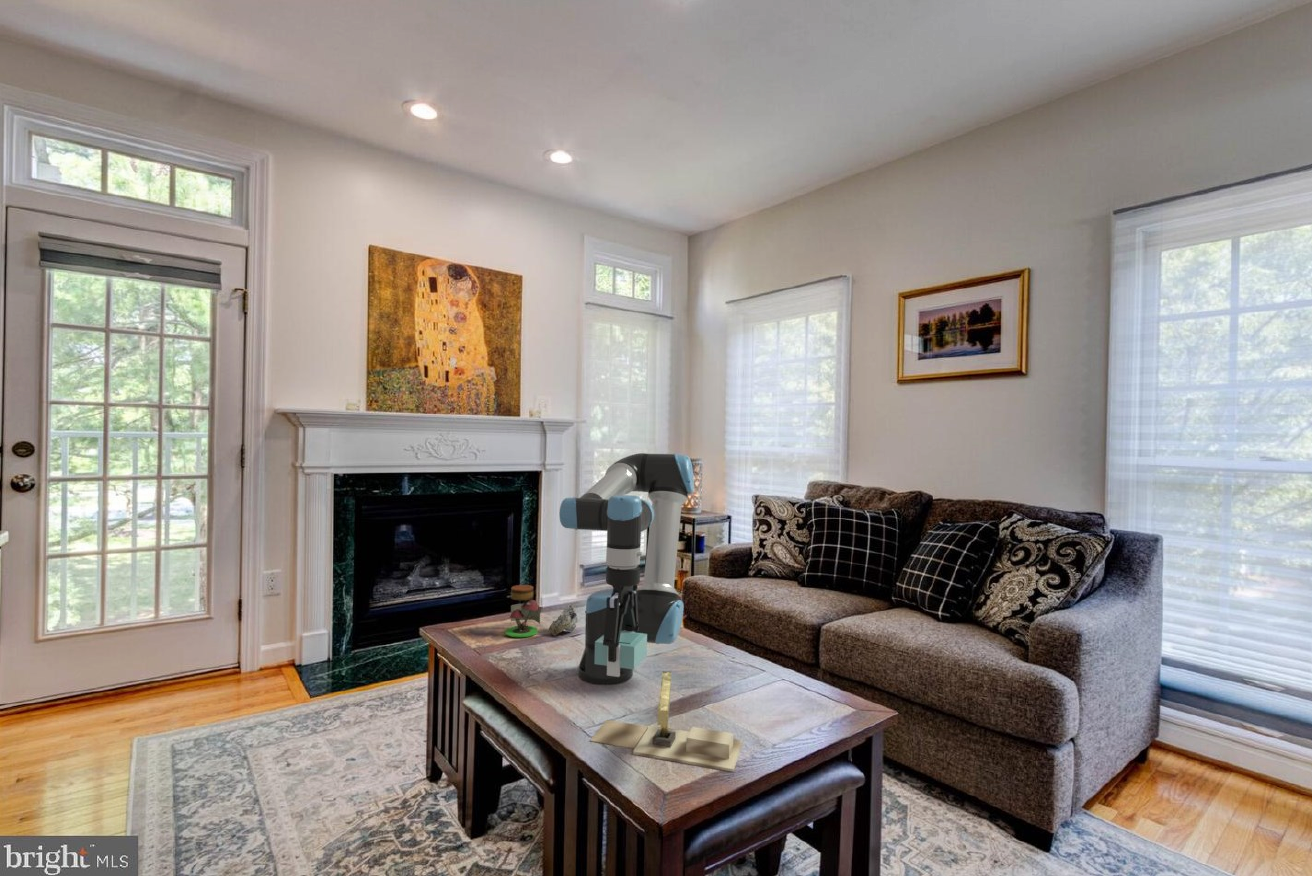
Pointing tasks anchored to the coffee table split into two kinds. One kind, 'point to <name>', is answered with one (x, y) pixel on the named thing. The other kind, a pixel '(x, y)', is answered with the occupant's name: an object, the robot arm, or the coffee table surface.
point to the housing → (691, 747)
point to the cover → (624, 649)
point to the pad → (619, 734)
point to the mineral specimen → (564, 621)
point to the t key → (664, 703)
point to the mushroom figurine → (523, 612)
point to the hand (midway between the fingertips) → (621, 667)
